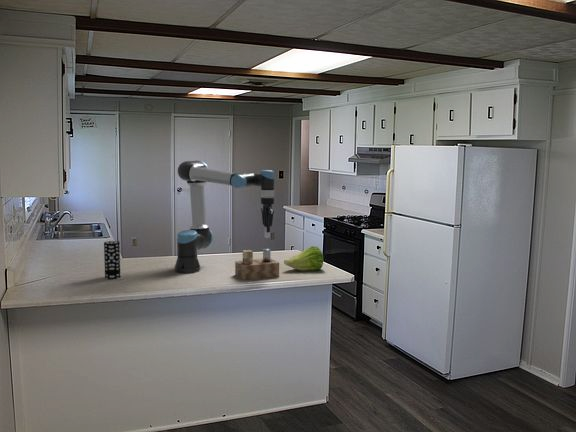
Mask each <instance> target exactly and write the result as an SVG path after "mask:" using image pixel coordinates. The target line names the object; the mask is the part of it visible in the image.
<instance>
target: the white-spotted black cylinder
mask: <svg viewBox="0 0 576 432" xmlns="http://www.w3.org/2000/svg"><path fill="white" fill-rule="evenodd" d="M120 243H121V242H120V241H119V240H109V241H104V242H103V251H104V252H103V255H104V256H103V257H104V259H103V260H104V261H103V262H104V279H106V280H118V279H120V278H122V277H121V247H120V246H121V245H120Z"/></svg>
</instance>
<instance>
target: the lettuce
mask: <svg viewBox="0 0 576 432" xmlns="http://www.w3.org/2000/svg"><path fill="white" fill-rule="evenodd" d="M324 261H325V260H324V254H323V252H322V250H321V249H320V248H319V247H318V246H314V245H313V246H310V247H308V248H306V249H305V250H303V251H301V252H300V253H298V254H296V255H295V254H294V255H293V256H290V257H289V258H286V259H283V264H284V265H285V266H287V267H290V268H292V269H295V270H297V271H301V272H302V271H303V272H307V271H309V272H310V271H311V272H312V271H313V272H314V271H318V270H321V269H322V268H323V265H324Z"/></svg>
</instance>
